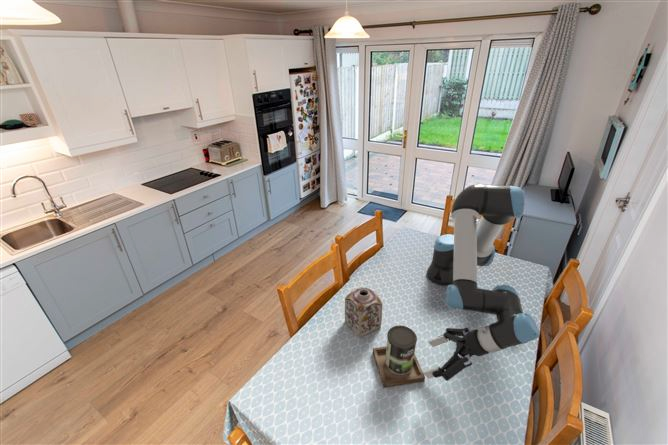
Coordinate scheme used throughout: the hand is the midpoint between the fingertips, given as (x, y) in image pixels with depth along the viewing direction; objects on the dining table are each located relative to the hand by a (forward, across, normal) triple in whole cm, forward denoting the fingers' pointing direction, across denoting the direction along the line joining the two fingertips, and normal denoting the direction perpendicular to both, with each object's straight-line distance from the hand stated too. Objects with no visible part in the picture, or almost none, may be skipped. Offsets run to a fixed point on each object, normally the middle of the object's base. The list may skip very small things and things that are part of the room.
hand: (428, 358), depth 108 cm
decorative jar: (+26, -15, -14) cm, 34 cm away
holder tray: (+13, 0, -1) cm, 13 cm away
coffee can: (+13, -1, -1) cm, 13 cm away
